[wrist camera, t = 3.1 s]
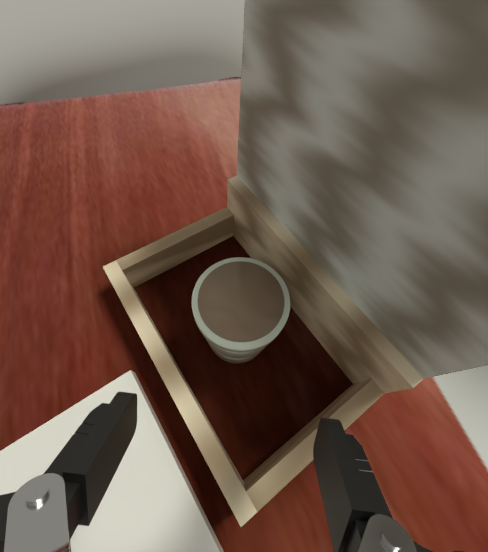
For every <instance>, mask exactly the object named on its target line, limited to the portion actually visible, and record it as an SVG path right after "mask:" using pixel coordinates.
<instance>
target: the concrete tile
mask: <svg viewBox="0 0 488 552" xmlns="http://www.w3.org/2000/svg"><path fill="white" fill-rule="evenodd" d="M119 391H120V392H128V393H136V394H137V426H136V430H135V433H134V436H133V438H132V440H131V442H130V444H129V446H128V448H127V450H126V452H125V454H124V456H123V458H122V460H121V462H120V464H119V466H118V469H117V471H116V473H115V475H114V477H113V479H112V481H111V483H110V485H109V487H108V489H107V491H106V493H105V495H104V497H103V499H102V501H101V503H100V505H99V507H98V509H97V511H96V513H95V515H94V517H93V519H92V521H91V523H90V525H89V526H84V525H78V526H77V528H76V530H75V532H74V534H73V535H72V537H71V539H70V543H71V552H224V551H223V549H222V547H221V545H220V543H219V541H218V539H217V537H216V535H215V533H214V531H213V529H212V527H211V525H210V523H209V521H208V519H207V517H206V515H205V513H204V511H203V509H202V507H201V505H200V503H199V501H198V499H197V496H196V494H195V492H194V490H193V488H192V486H191V484H190V482H189V480H188V478H187V476H186V474H185V472H184V470H183V468H182V466H181V464H180V462H179V460H178V458H177V456H176V454H175V452H174V450H173V448H172V446H171V444H170V442H169V440H168V438H167V436H166V434H165V432H164V430H163V428H162V426H161V424H160V422H159V420H158V418H157V416H156V414H155V412H154V410H153V408H152V406H151V404H150V402H149V400H148V397H147V395H146V393H145V391H144V389H143V387H142V385H141V383H140V381H139V379H138V377H137V375H136V373H135V372H133V371H132V370H130V371H128V372H127V373H125V374H124V375H122V376H120V377H119V378H117V379H115V380H114V381H112V382H111V383H109V384H107V385H106V386H104V387H103V388H101V389H99V390H98V391H96V392H95V393H93V394H91V395H90V396H88V397H87V398H85V399H83V400H82V401H80V402H79V403H77V404H75V405H74V406H72V407H70V408H69V409H67V410H66V411H64V412H62V413H61V414H59V415H58V416H56V417H54V418H53V419H51V420H50V421H48V422H46V423H45V424H43V425H42V426H40V427H38V428H37V429H35V430H33V431H32V432H30V433H29V434H27V435H25V436H24V437H22V438H21V439H19V440H17V441H16V442H14V443H13V444H11V445H9V446H8V447H6V448H5V449H3V450H1V451H0V495H3V494H8V493H12V492H16V491H17V490H18V489H19V488H20V487H21V486H22V485H24V484H25V483H26V482H28V481H29V480H31V479H33V478H35V477H37V476H39V475H42V474H44V472H45V471H46V470H47V469H48V467H49V466H50V465H51V463H52V462H53V461H54V459H55V458H56V457H57V455H58V454H59V453H60V451H61V450H62V449H63V447H64V446H65V445H66V443H67V442H68V441H69V439H70V438H71V437H72V435H73V434H75V431H76V430H77V429H78V427H79V426H80V425H82V422H83V421H84V420H85V418H86V417H87V416H88V414H89V413H90V412H91V411H92V410H93V409H95V408H96V407H97V406H99V405H100V404H102V403H107V404H109V403H110V402H111V401H112V399H113V398H114V396H115V395H116V393H117V392H119Z"/></svg>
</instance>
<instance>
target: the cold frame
mask: <svg viewBox="0 0 488 552" xmlns="http://www.w3.org/2000/svg"><path fill="white" fill-rule="evenodd" d="M242 53H243V54H242V74H241V95H240V117H239V139H238V161H237V176H235V177H233V178H230V179H228V186H227V207H226V208H224V209H222V210H220V211H218V212H215V213H213V214H211V215H209V216H207V217H205V218H203V219H201V220H199V221H197V222H195V223H193V224H191V225H188V226H186V227H184V228H182V229H180V230H178V231H176V232H174V233H172V234H170V235H168V236H166V237H164V238H161V239H159V240H157V241H155V242H153V243H151V244H149V245H147V246H145V247H143V248H141V249H139V250H136V251H134V252H132V253H130V254H128V255H126V256H124V257H122V258H120V259H118V260H116V261H114V262H112V263H109V264H107V265H105V266H103V268H104V270H105V272H106V274H107V276H108V278H109V280H110V281H111V283H112V285H113V287H114V289H115V291H116V293H117V295H118V297H119V298H120V300H121V302H122V304H123V306H124V308H125V310H126V312H127V314H128V315H129V317H130V319H131V321H132V323H133V325H134V327H135V329H136V330H137V332H138V334H139V336H140V338H141V340H142V342H143V344H144V346H145V347H146V349H147V351H148V353H149V355H150V357H151V359H152V361H153V363H154V364H155V366H156V368H157V370H158V372H159V374H160V376H161V378H162V380H163V381H164V383H165V385H166V387H167V389H168V391H169V393H170V395H171V396H172V398H173V400H174V402H175V404H176V406H177V408H178V410H179V412H180V413H181V415H182V417H183V419H184V421H185V423H186V425H187V427H188V429H189V430H190V432H191V434H192V436H193V438H194V440H195V442H196V444H197V445H198V447H199V449H200V451H201V453H202V455H203V457H204V459H205V461H206V462H207V464H208V466H209V468H210V470H211V472H212V474H213V476H214V478H215V479H216V481H217V483H218V485H219V487H220V489H221V491H222V493H223V494H224V496H225V498H226V500H227V502H228V504H229V506H230V508H231V510H232V511H233V513H234V515H235V517H236V519H237V521H238V523H239V525H240V527H242V526H243V525H244V524H245V523H246V522H247V521H248V520H249V519H250V518H251V517H253V516H254V515H255V514H256V513H257V512H258V511H259V510H260V509H261V508H262V507H263V506H264V505H265V504H266V503H268V502H269V501H270V500H271V499H272V498H273V497H274V496H275V495H276V494H277V493H278V492H279V491H280V490H281V489H282V488H284V487H285V486H286V485H287V484H288V483H289V482H290V481H291V480H292V479H293V478H294V477H295V476H296V475H297V474H299V473H300V472H301V471H302V470H303V469H304V468H305V467H306V466H307V465H308V464H309V463H310V462H311V461H312V460H313V459H314V458H313V446H314V441H315V437H316V433H317V429H318V425H319V421H320V419H321V418H330V419H338V420H340V421H341V423H342V426H343V429H344V430H346V429H347V428H348V427H349V426H350V425H351V424H352V423H353V422H354V421H355V420H356V419H357V418H358V417H359V416H360V415H362V414H363V413H364V412H365V411H366V410H367V409H368V408H369V407H370V406H371V405H372V404H373V403H374V402H375V401H377V400H378V399H379V398H380V397H381V396H382V395H383V394H384V393H388V392H394V391H400V390H406V389H412V388H414V387H415V386H416V385H417V384H418V383H419V382H420V381H421V380H422V379H424V378H428V377H433V376H438V375H443V374H448V373H452V372H457V371H462V370H467V369H472V368H476V367H481V366H486V365H488V0H245V9H244V30H243V52H242ZM232 236H234V238H235V239H236V240H237V241H238V242H239V244H240V245H241V246H242V247H243V249H244V250H245V251H246V252H247V254H248V255H249V256H250V257H251V259H255V260H258V261H261V262H263V263H265V264H267V265H268V266H270V267H271V268H273V269H274V270H275V271H276V272H277V273H278V274H279V275H280V276H281V278H282V279H283V281H284V282H285V284H286V286H287V289H288V292H289V296H290V307H291V308H292V309H293V311H294V312H295V313H296V314H297V315H298V317H299V318H300V319H301V320H302V322H303V323H304V324H305V325H306V327H307V328H308V329H309V330H310V332H311V333H312V334H313V335H314V337H315V338H316V339H317V340H318V341H319V343H320V344H321V345H322V346H323V348H324V349H325V350H326V351H327V353H328V354H329V355H330V356H331V358H332V359H333V360H334V361H335V363H336V364H337V365H338V366H339V367H340V369H341V370H342V371H343V372H344V374H345V375H346V376H347V377H348V379H349V380H350V381H351V382H352V384H353V385H352V386H350V387H349V388H348V389H347V390H346V391H345V392H344V393H342V394H341V395H340V396H339V397H338V398H337V399H336V400H334V401H333V402H332V403H331V404H330V405H329V406H328V407H326V408H325V409H324V410H323V411H322V412H321V413H319V414H318V415H317V416H316V417H315V418H314V419H313V420H311V421H310V422H309V423H308V424H307V425H306V426H305V427H303V428H302V429H301V430H300V431H299V432H298V433H297V434H295V435H294V436H293V437H292V438H291V439H290V440H289V441H287V442H286V443H285V444H284V445H283V446H282V447H281V448H279V449H278V450H277V451H276V452H275V453H274V454H273V455H271V456H270V457H269V458H268V459H267V460H266V461H264V462H263V463H262V464H261V465H260V466H259V467H258V468H256V469H255V470H254V471H253V472H252V473H251V474H250V475H248V476H247V477H246V478H245V479H244V480H242V478H241V476H240V475H239V473H238V471H237V469H236V468H235V466H234V464H233V462H232V461H231V459H230V457H229V455H228V453H227V452H226V450H225V448H224V446H223V445H222V443H221V441H220V439H219V438H218V436H217V434H216V432H215V430H214V429H213V427H212V425H211V423H210V422H209V420H208V418H207V416H206V415H205V413H204V411H203V409H202V407H201V406H200V404H199V402H198V400H197V399H196V397H195V395H194V393H193V392H192V390H191V388H190V386H189V384H188V383H187V381H186V379H185V377H184V376H183V374H182V372H181V370H180V369H179V367H178V365H177V363H176V361H175V360H174V358H173V356H172V354H171V353H170V351H169V349H168V347H167V345H166V344H165V342H164V340H163V338H162V337H161V335H160V333H159V331H158V330H157V328H156V326H155V324H154V322H153V321H152V319H151V317H150V315H149V314H148V312H147V310H146V308H145V307H144V305H143V303H142V301H141V299H140V298H139V296H138V294H137V292H136V291H135V289H134V288H135V287H136V286H138V285H140V284H142V283H144V282H146V281H148V280H150V279H152V278H154V277H155V276H157V275H159V274H161V273H163V272H165V271H167V270H169V269H171V268H173V267H175V266H176V265H178V264H180V263H182V262H184V261H186V260H188V259H190V258H192V257H194V256H196V255H197V254H199V253H201V252H203V251H205V250H207V249H209V248H211V247H213V246H215V245H216V244H218V243H220V242H222V241H224V240H226V239H228V238H230V237H232Z"/></svg>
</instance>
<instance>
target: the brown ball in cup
mask: <svg viewBox="0 0 488 552" xmlns="http://www.w3.org/2000/svg"><path fill="white" fill-rule="evenodd" d="M192 311H193V315H194V318H195V321H196V324H197V326H198V328H199V330H200V331H201V333H202V334H203V335H204V337H205V339H206V341H207V342H208V344H209V345H210V348H211V349H212V351H213V352H214V354H215V355H216V356H218V357H219V358H220V359H222V360H223V361H226V362H229V363H234V364H240V363H245V362H248V361H250V360H252V359H254V358H255V357H256V356H257V355H258V354H259V353H260V352H261V351H262V350H263V349H264V348H265V347H266V346H267V345H268V344H269V343H271V342H272V341H273V340H274V339H275V338H276V337H277V336H278V335H279V333H280V332H281V330H282V329H283V327H284V325H285V323H286V321H287V319H288V316H289V312H290V296H289V292H288V289H287V286H286V284H285V282H284V281H283V279H282V278H281V276H280V275H279V274H278V273H277V272H276V271H275V270H274V269H273V268H271V267H270V266H268V265H267V264H265V263H263V262H261V261H258V260H255V259H251V258H245V257H235V258H229V259H225V260H222V261H219V262H217V263H215V264H213V265H212V266H210V267H209V268H208V269H207V270H205V272H204V273H203V274H202V275H201V276H200V277H199V279H198V280H197V282H196V284H195V287H194V289H193V293H192Z"/></svg>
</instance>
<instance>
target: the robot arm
mask: <svg viewBox="0 0 488 552" xmlns="http://www.w3.org/2000/svg"><path fill="white" fill-rule="evenodd" d="M136 426H137V394H136V393H128V392H120V391H119V392H117V393H116V395H115V396H114V398H113V399H112V401H111V402H110V403H109V404H107V403H102V404H100V405H99V406H97V407H96V408H95V409H93V410H92V411H91V412H90V413H89V414H88V416H87V417H86V418H85V420H84V421H83V422H82V425H80V426H79V427H78V429H77V430H76V431H75V434H73V435H72V437H71V438H70V439H69V441H68V442H67V443H66V445H65V446H64V447H63V449H62V450H61V451H60V453H59V454H58V455H57V457H56V458H55V459H54V461H53V462H52V463H51V465H50V466H49V467H48V469H47V470H46V471H45V472H44V474H42V475H39V476H37V477H35V478H33V479H31V480H29V481H28V482H26V483H25V484H24V485H22V486H21V487H20V488H19V489H18V490H17V491H16V492H12V493H8V494H3V495H0V552H71V543H70V539H71V537H72V535H73V534H74V532H75V530H76V528H77V526H78V525H84V526H89V525H90V523H91V521H92V519H93V517H94V515H95V513H96V511H97V509H98V507H99V505H100V503H101V501H102V499H103V497H104V495H105V493H106V491H107V489H108V487H109V485H110V483H111V481H112V479H113V477H114V475H115V473H116V471H117V469H118V466H119V464H120V462H121V460H122V458H123V456H124V454H125V452H126V450H127V448H128V446H129V444H130V442H131V440H132V438H133V436H134V433H135V430H136ZM313 458H314V464H315V468H316V473H317V477H318V481H319V486H320V490H321V495H322V499H323V504H324V508H325V513H326V517H327V522H328V526H329V531H330V535H331V540H332V544H333V548H334V552H432V551H430V550H428V549H426V548H424V547H422V546H420V545H418V544H417V543H415V542H414V541H413V540H412V538H411V537H410V535H409V534H408V532H407V531H406V530H405V529H404V528H403V527H402V526H401V525H400V524H399V523H398V522H397V521H395V520H394V519H393V518H392V516H391V513H390V511H389V509H388V506H387V504H386V502H385V499H384V497H383V495H382V492H381V490H380V488H379V485H378V483H377V481H376V478H375V476H374V474H373V473H372V469H371V467H370V464H369V462H368V461H367V457H366V455H365V453H364V450H363V448H362V446H361V445H360V444H359V442H358V441H357V440H356V439H355V438H354V436H353V435H349V434H345V431H344V429H343V426H342V423H341V421H340V420H338V419H330V418H321V419H320V421H319V425H318V429H317V433H316V437H315V441H314V446H313ZM453 552H463V551H453Z"/></svg>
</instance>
